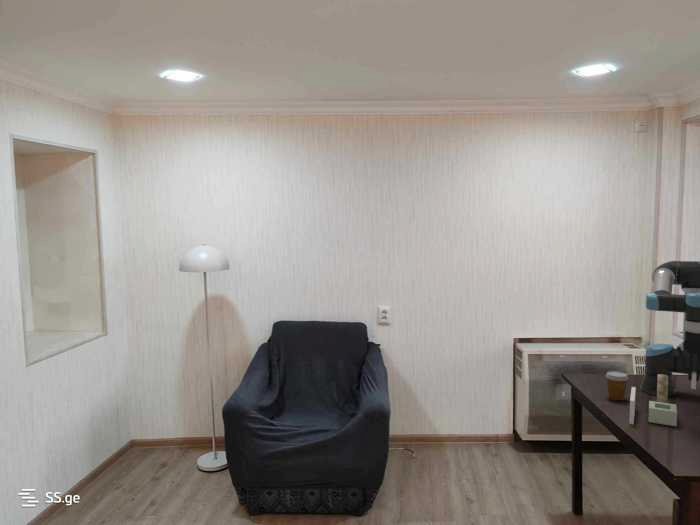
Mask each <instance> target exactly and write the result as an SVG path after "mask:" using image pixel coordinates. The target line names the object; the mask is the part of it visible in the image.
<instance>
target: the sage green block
mask: <svg viewBox="0 0 700 525" xmlns="http://www.w3.org/2000/svg"><path fill="white" fill-rule="evenodd" d="M677 409H678V408H677V404H675V403H668V402H667V403H662V402H657V401H655V400H654V401H653V400H648V423H653V424H659V425H665V426H671V427H677V425H678V424H677V423H678V410H677Z"/></svg>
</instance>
